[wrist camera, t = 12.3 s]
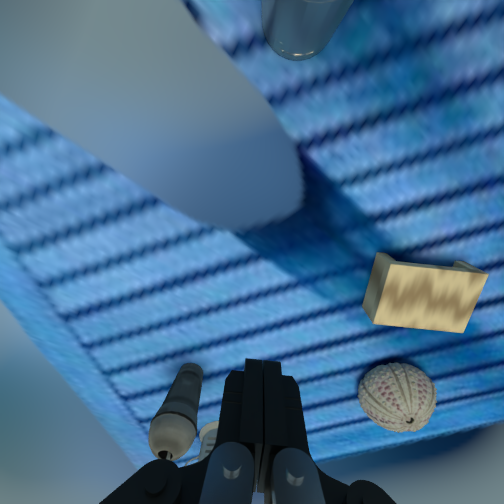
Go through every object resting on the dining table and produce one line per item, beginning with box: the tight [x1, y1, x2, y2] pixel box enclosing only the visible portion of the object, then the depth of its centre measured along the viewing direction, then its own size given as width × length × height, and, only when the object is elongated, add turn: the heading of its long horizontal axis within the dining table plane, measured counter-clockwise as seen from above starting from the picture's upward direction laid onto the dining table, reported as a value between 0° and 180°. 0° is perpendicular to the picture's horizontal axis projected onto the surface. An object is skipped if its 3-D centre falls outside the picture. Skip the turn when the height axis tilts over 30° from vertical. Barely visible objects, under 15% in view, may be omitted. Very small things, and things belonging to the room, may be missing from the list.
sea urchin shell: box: [358, 362, 437, 433], centre depth 48 cm, size 13×14×8 cm
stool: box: [362, 252, 489, 333], centre depth 43 cm, size 10×5×14 cm
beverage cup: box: [149, 363, 203, 461], centre depth 43 cm, size 7×7×20 cm
